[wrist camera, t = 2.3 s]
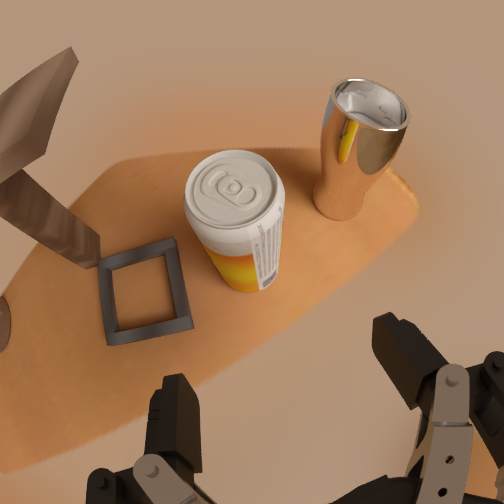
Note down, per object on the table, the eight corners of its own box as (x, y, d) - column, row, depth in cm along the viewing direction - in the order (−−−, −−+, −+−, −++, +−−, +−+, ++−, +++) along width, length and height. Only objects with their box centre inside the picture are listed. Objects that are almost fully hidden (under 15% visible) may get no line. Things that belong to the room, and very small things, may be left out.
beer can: (244, 228, 31) (224, 131, 17) (290, 259, 29) (306, 174, 15) (209, 271, 29) (157, 198, 15) (255, 306, 28) (239, 257, 14)
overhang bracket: (94, 349, 27) (-82, 310, 6) (85, 227, 32) (-29, 121, 11) (194, 328, 27) (14, 251, 6) (169, 197, 33) (82, 39, 12)
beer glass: (330, 165, 33) (353, 67, 19) (375, 197, 31) (423, 107, 17) (296, 200, 32) (310, 97, 18) (345, 236, 30) (394, 147, 16)
